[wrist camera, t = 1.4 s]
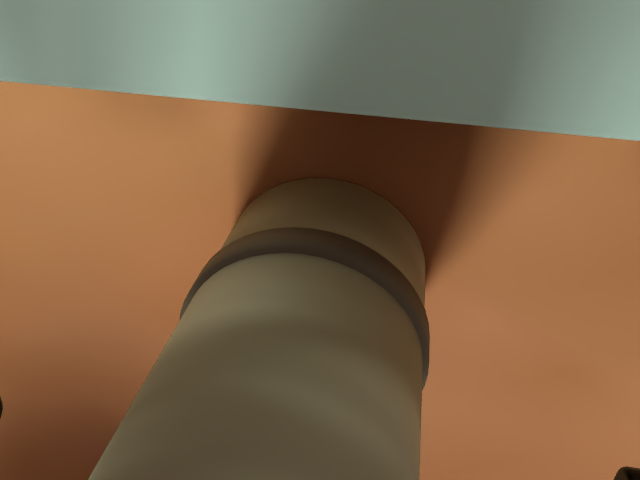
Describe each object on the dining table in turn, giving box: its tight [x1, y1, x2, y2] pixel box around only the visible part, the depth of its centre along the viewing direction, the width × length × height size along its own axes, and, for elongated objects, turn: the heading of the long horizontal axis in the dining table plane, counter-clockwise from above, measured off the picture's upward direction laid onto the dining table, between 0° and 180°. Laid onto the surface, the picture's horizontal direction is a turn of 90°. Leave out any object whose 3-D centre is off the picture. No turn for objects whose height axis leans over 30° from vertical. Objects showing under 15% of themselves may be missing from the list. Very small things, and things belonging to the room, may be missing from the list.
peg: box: [88, 178, 430, 480], centre depth 9 cm, size 4×4×8 cm
